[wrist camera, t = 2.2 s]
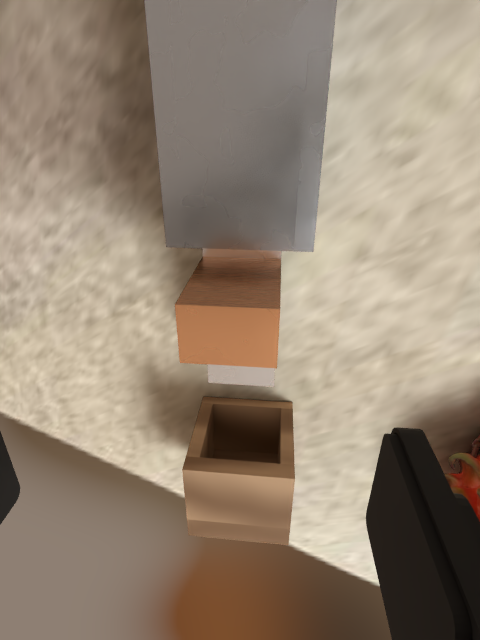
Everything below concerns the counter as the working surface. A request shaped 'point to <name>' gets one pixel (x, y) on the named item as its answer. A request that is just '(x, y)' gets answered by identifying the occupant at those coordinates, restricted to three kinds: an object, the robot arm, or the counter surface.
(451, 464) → the dragon fruit
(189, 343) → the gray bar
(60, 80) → the counter surface
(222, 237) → the sleeve
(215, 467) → the socket block
